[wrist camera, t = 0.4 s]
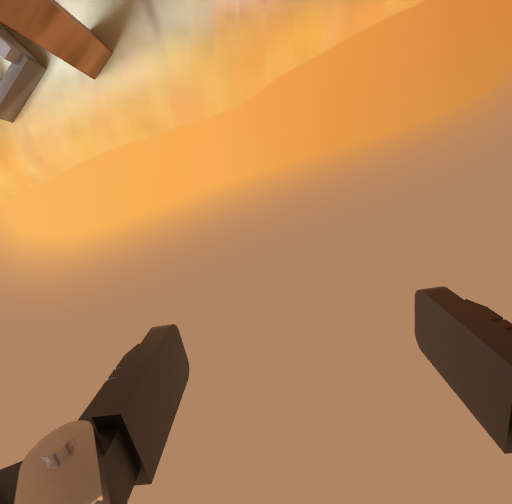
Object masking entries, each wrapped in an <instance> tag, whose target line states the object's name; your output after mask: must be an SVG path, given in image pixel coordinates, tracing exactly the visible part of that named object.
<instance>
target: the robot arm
mask: <svg viewBox="0 0 512 504" xmlns="http://www.w3.org/2000/svg"><path fill="white" fill-rule="evenodd" d="M415 336H416V340H417V343H418V345H419V348H420V349H421V351H422V352H423V353H424V355H425V356H426V357H427V358H428V360H429V361H430V362H431V363H432V365H433V366H434V367H435V368H436V370H437V371H438V372H439V373H440V374H441V376H442V377H443V378H444V379H445V381H446V382H447V383H448V384H449V386H450V387H451V388H452V389H453V391H454V392H455V393H456V394H457V395H458V397H459V398H460V399H461V400H462V401H463V403H464V404H465V405H466V407H467V408H468V409H469V410H470V411H471V413H472V414H473V415H474V416H475V418H476V419H477V420H478V421H479V422H480V424H481V425H482V426H483V427H484V429H485V430H486V431H487V432H488V433H489V435H490V436H491V437H492V438H493V440H494V441H495V442H496V444H497V445H498V446H499V447H500V448H501V449H502V451H503V452H504V453H505V454H506V453H512V324H511V323H510V322H509V321H507V320H503V317H501V316H499V315H498V314H497V313H495V312H493V311H492V310H490V309H489V308H488V307H486V306H483V305H480V304H477V303H475V302H472V301H470V300H467V299H466V300H463V299H462V298H460V297H459V296H458V295H456V294H455V293H453V292H452V291H451V290H449V289H448V288H446V287H443V286H442V287H435V288H428V289H421V290H417V291H416V293H415ZM188 376H189V363H188V359H187V356H186V353H185V349H184V346H183V343H182V340H181V336H180V333H179V330H178V328H177V326H176V325H174V324H172V325H165V326H158V327H152V328H151V329H150V331H149V332H148V333H147V335H146V336H145V338H144V339H143V341H142V342H141V344H137V345H136V346H135V347H134V348H133V349H131V350H130V351H129V352H128V353H127V354H126V355H125V356H124V357H123V358H122V360H121V361H120V363H119V364H118V365H117V367H116V370H114V371H113V372H112V374H111V375H110V376H109V380H107V381H106V382H105V383H104V385H103V386H102V388H101V389H100V390H99V392H98V393H97V395H96V396H95V397H94V399H93V400H92V402H91V403H90V404H89V406H88V407H87V409H86V410H85V411H84V413H83V414H82V415H81V417H80V418H79V420H78V421H74V422H70V423H67V424H65V425H63V426H61V427H59V428H57V429H55V430H54V431H52V432H51V433H49V434H48V435H46V436H45V437H44V438H43V439H42V440H40V441H39V442H38V443H37V444H36V445H35V446H34V447H33V448H32V450H31V451H30V452H29V453H28V454H27V456H26V457H25V459H24V460H23V461H21V462H19V463H16V464H14V465H11V466H9V467H6V468H3V469H1V470H0V504H131V503H130V501H129V497H130V494H131V492H132V489H133V487H134V485H145V484H151V483H152V481H153V478H154V475H155V472H156V469H157V466H158V464H159V461H160V458H161V455H162V452H163V449H164V446H165V444H166V441H167V438H168V435H169V432H170V429H171V427H172V424H173V421H174V418H175V415H176V412H177V410H178V406H179V404H180V401H181V398H182V395H183V392H184V389H185V387H186V384H187V381H188Z"/></svg>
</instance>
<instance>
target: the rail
mask: <svg viewBox="0 0 512 504" xmlns="http://www.w3.org/2000/svg"><path fill="white" fill-rule="evenodd" d="M0 21H1V22H2V23H4V24H5V25H7V26H9V27H10V28H12V29H13V30H15V31H17V32H18V33H20V34H22V35H23V36H25V37H26V38H28V39H30V40H31V41H33V42H34V43H36V44H38V45H39V46H41V47H43V48H44V49H46V50H47V51H49V52H51V53H52V54H54V55H55V56H57V57H59V58H60V59H62V60H64V61H65V62H67V63H68V64H70V65H72V66H73V67H75V68H76V69H78V70H80V71H81V72H83V73H85V74H86V75H88V76H89V77H91V78H93V79H95V78H96V77H97V75H98V74H99V72H100V71H101V69H102V68H103V66H104V65H105V63H106V62H107V61H108V59H109V58H110V56H111V55H112V52H111V51H110V50H109V49H108V48H107V47H106V46H105V45H104V44H103V43H102V42H101V41H100V40H99V39H98V38H97V37H96V36H95V35H94V34H93V33H92V32H91V31H90V30H89V29H88V28H87V27H86V26H84V25H83V24H82V23H81V22H80V21H78V20H77V19H76V18H75V17H74V16H73V15H71V14H70V13H69V12H68V11H67V10H65V9H64V8H63V7H62V6H61V5H60V4H58V3H57V2H56V1H55V0H0Z"/></svg>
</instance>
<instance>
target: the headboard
mask: <svg viewBox="0 0 512 504" xmlns="http://www.w3.org/2000/svg"><path fill="white" fill-rule="evenodd" d="M0 55H1V56H2V57H3V58H4V59H6V60H8V61H10V62H12V63H11V65H10V66H9V68H8V70H7V71H6V73H5V75H4V76H3V78H2V80H1V82H0V119H2V120H5V121H9V122H13V121H14V119H15V118H16V116H17V115H18V113H19V111H20V110H21V108H22V107H23V105H24V104H25V102H26V100H27V99H28V97H29V96H30V94H31V93H32V91H33V89H34V88H35V86H36V85H37V83H38V81H39V80H40V78H41V77H42V75H43V74H44V72H45V70H46V68H45V67H44V66H43V65H42V64H41V63H40V62H39V61H38V60H37V59H36V58H35V57H34V56H33V55H32V54H31V53H30V52H29V51H28V50H27V49H26V48H25V47H24V46H23V45H22V44H21V43H20V42H19V41H18V40H17V39H16V38H15V37H14V36H13V35H12V34H11V33H10V32H9V31H8V30H7V29H6V28H5V27H4V26H3V25H2V24H1V23H0Z"/></svg>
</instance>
